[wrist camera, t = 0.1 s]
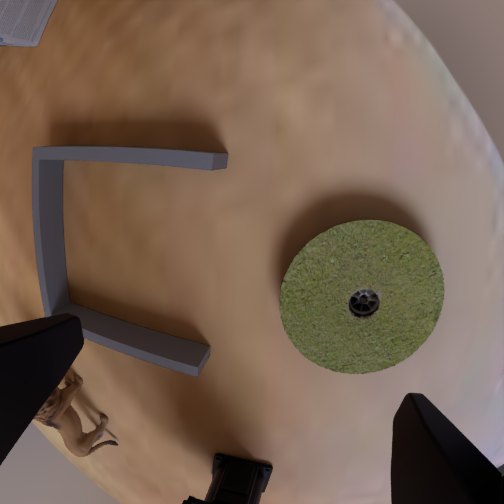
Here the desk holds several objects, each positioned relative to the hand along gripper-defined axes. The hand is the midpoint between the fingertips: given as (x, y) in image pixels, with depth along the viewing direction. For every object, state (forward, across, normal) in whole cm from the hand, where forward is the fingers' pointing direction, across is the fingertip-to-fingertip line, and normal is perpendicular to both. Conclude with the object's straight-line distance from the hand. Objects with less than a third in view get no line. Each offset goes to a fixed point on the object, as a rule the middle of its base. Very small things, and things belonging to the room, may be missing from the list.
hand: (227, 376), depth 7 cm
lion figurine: (+15, +21, +25) cm, 36 cm away
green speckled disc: (+15, -6, +3) cm, 16 cm away
